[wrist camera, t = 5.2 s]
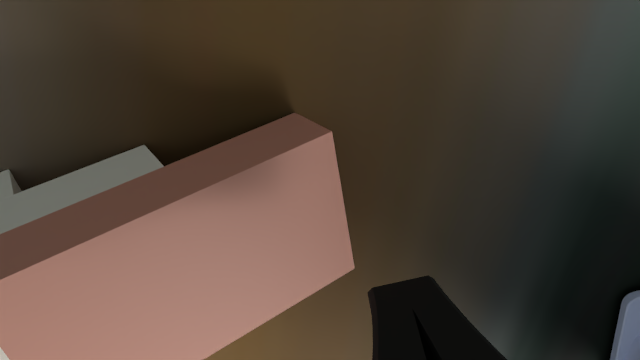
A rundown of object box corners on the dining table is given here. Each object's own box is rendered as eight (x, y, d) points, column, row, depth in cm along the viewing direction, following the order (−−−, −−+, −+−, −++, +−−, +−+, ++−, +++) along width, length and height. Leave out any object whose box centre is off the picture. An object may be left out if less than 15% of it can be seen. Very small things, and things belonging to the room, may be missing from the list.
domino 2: (332, 131, 13) (-38, 296, 10) (354, 268, 16) (70, 439, 12) (294, 112, 15) (-37, 249, 11) (320, 240, 17) (59, 385, 14)
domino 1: (164, 167, 13) (-277, 347, 9) (214, 299, 16) (-117, 482, 12) (144, 144, 15) (-243, 292, 11) (192, 269, 17) (-108, 423, 14)
